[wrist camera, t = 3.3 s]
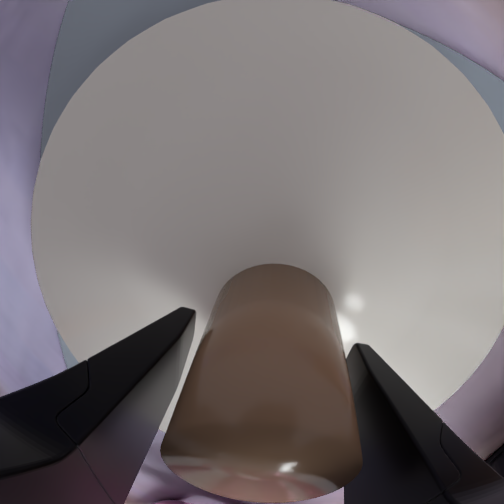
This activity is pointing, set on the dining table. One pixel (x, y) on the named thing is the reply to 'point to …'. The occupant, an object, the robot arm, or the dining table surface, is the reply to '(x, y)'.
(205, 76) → the ceramic lid
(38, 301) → the dining table surface
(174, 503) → the spiral basket
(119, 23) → the rubber mat
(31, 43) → the dining table surface
